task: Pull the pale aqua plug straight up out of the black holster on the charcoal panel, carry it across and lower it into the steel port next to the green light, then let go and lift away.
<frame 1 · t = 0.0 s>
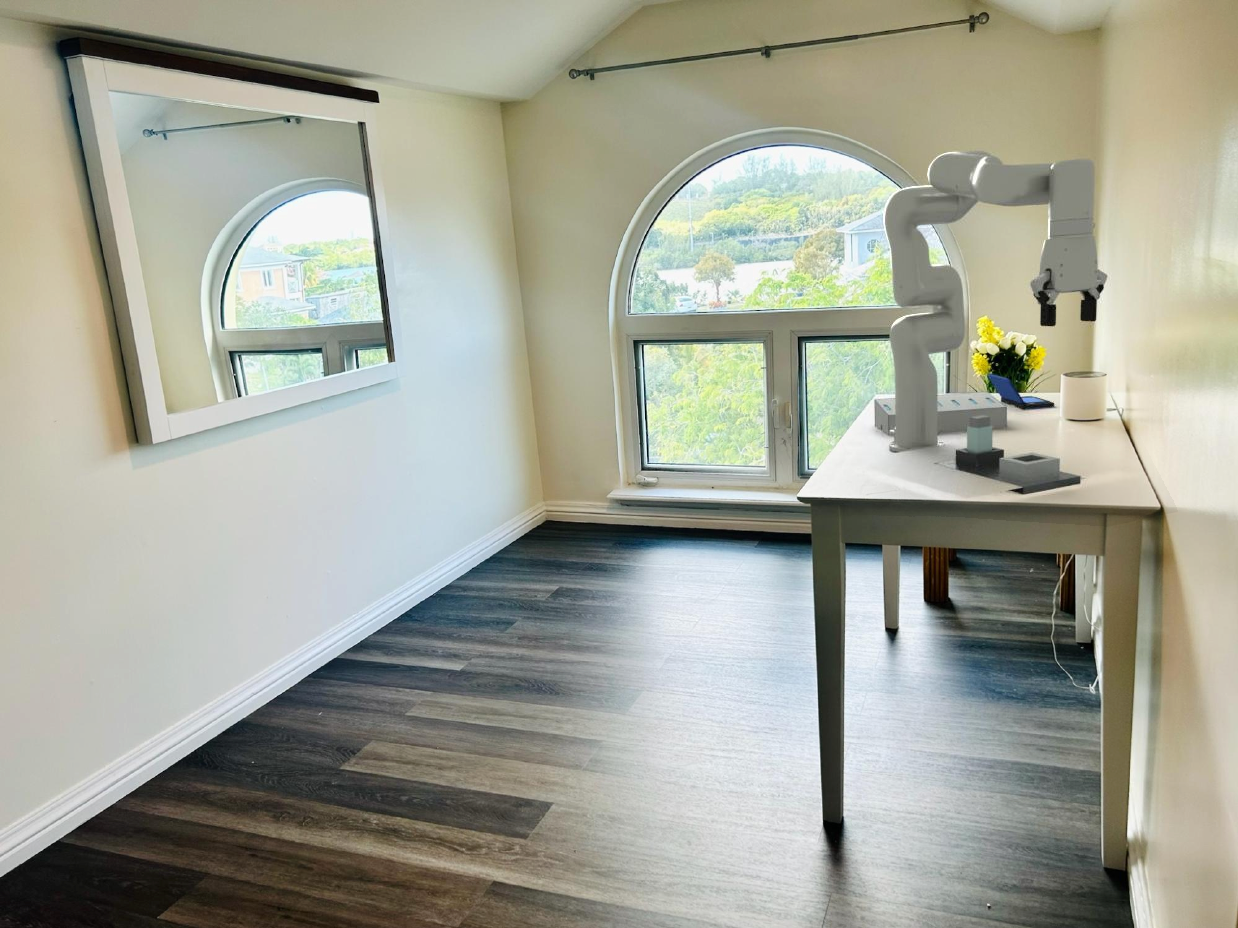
hand: (1068, 323, 180), 31 cm above the table, tool pointing down, fingers open, 9 cm apart
panel: (1003, 476, 196), on the table
plug: (979, 463, 202), point 1 cm above the table, touching panel
grey slotted box: (938, 428, 252), on the table
handheld game console: (1020, 406, 274), on the table
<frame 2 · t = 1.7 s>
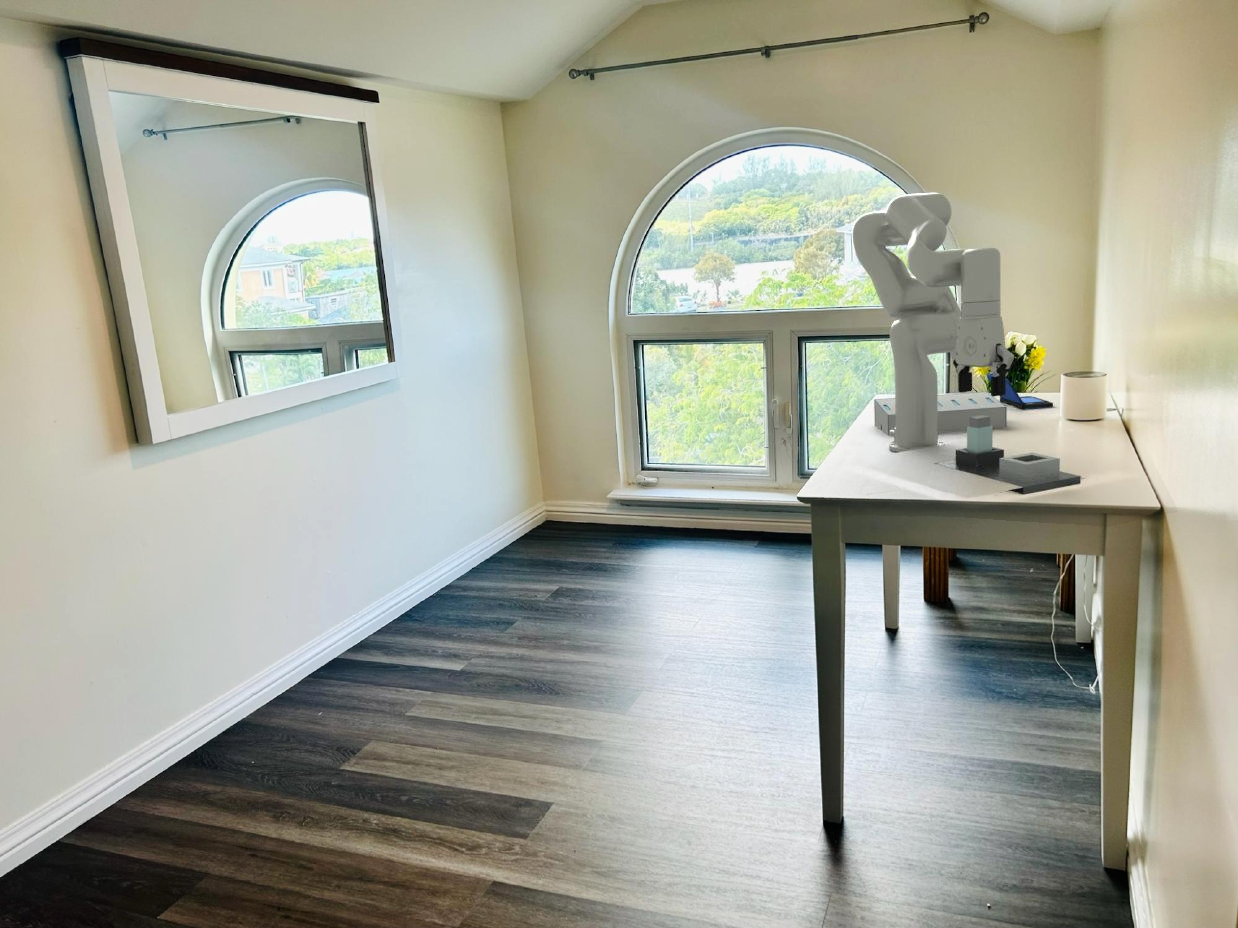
hand: (981, 393, 198), 16 cm above the table, tool pointing down, fingers open, 9 cm apart
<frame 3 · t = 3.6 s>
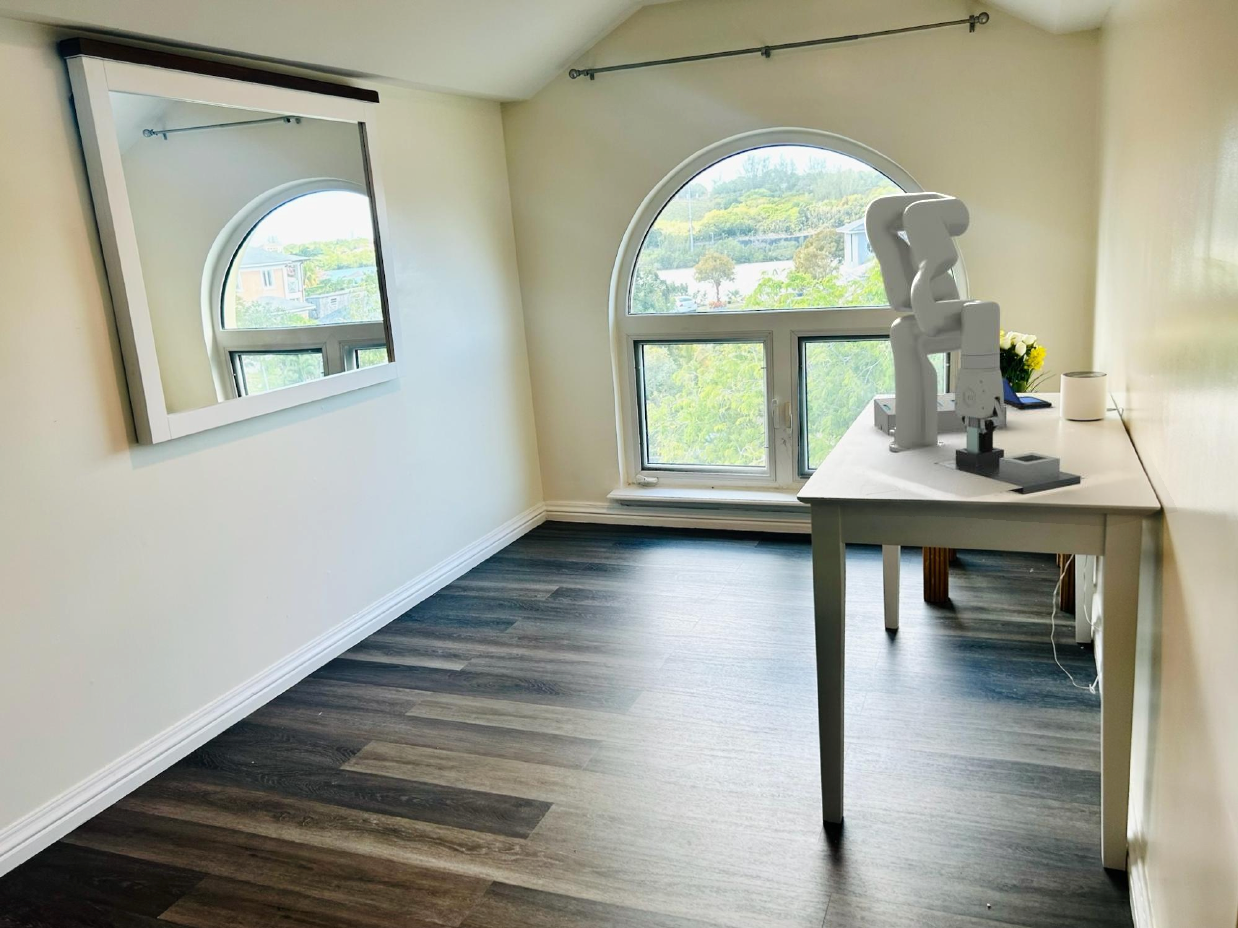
hand: (979, 448, 201), 5 cm above the table, tool pointing down, fingers closed on plug, 2 cm apart
plug: (979, 463, 202), point 2 cm above the table, touching gripper, panel
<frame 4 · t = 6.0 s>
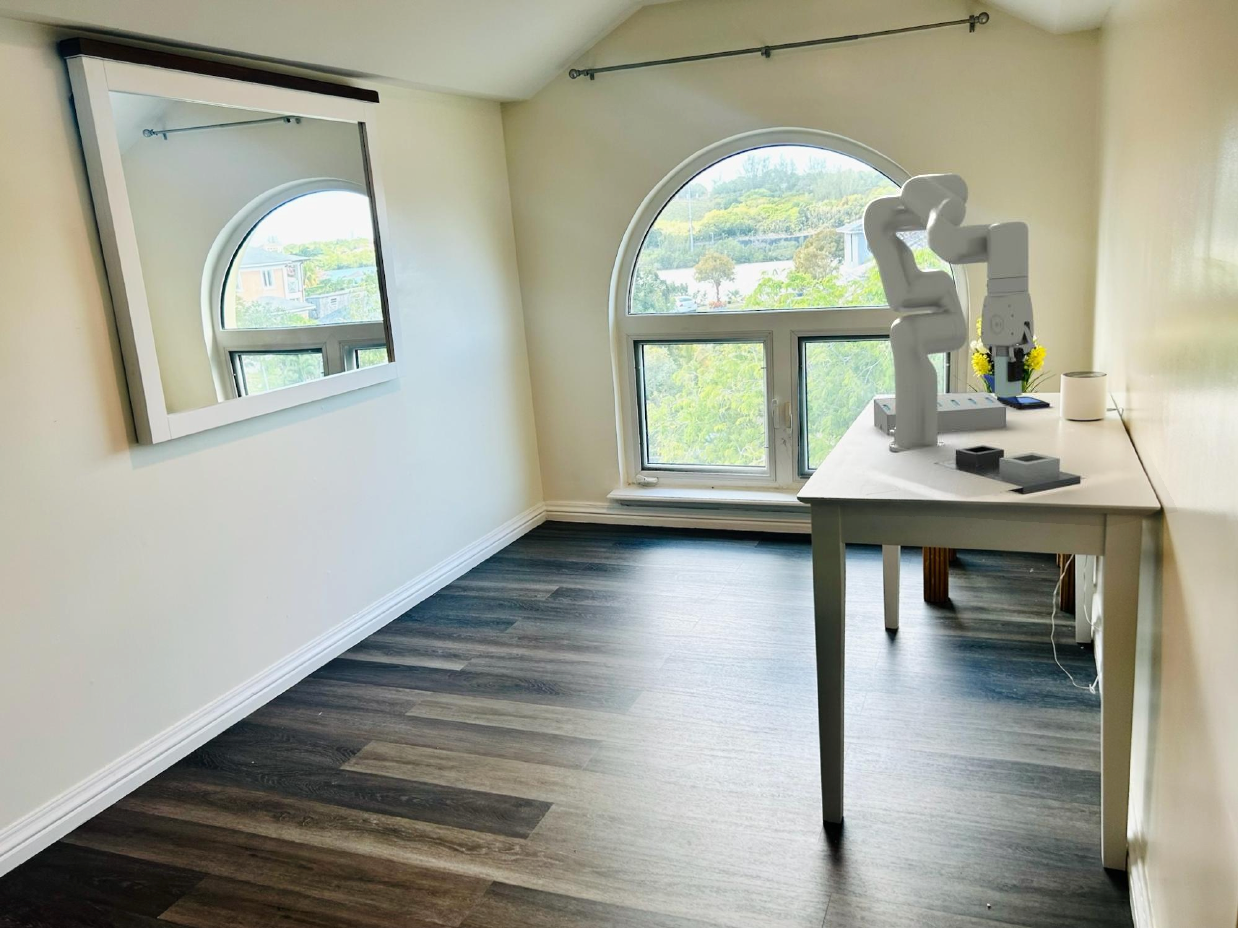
hand: (1008, 380, 191), 20 cm above the table, tool pointing down, fingers closed on plug, 2 cm apart
plug: (1008, 395, 191), point 17 cm above the table, touching gripper
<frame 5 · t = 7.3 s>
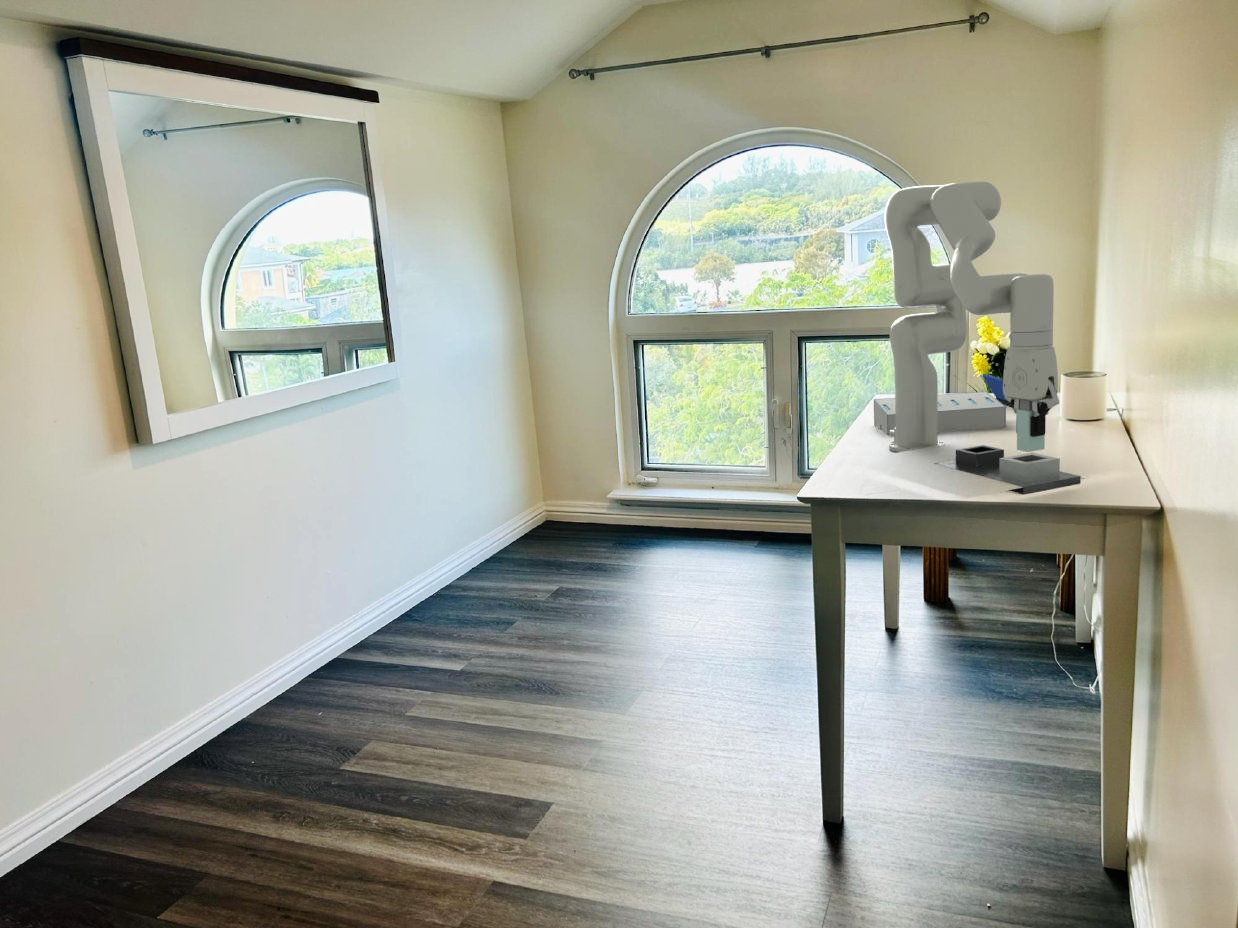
hand: (1030, 433, 187), 10 cm above the table, tool pointing down, fingers closed on plug, 2 cm apart
plug: (1030, 449, 188), point 7 cm above the table, touching gripper
when the fingers open (6 cm above the table, at t = 8.4 s): plug drops 1 cm, resting on panel.
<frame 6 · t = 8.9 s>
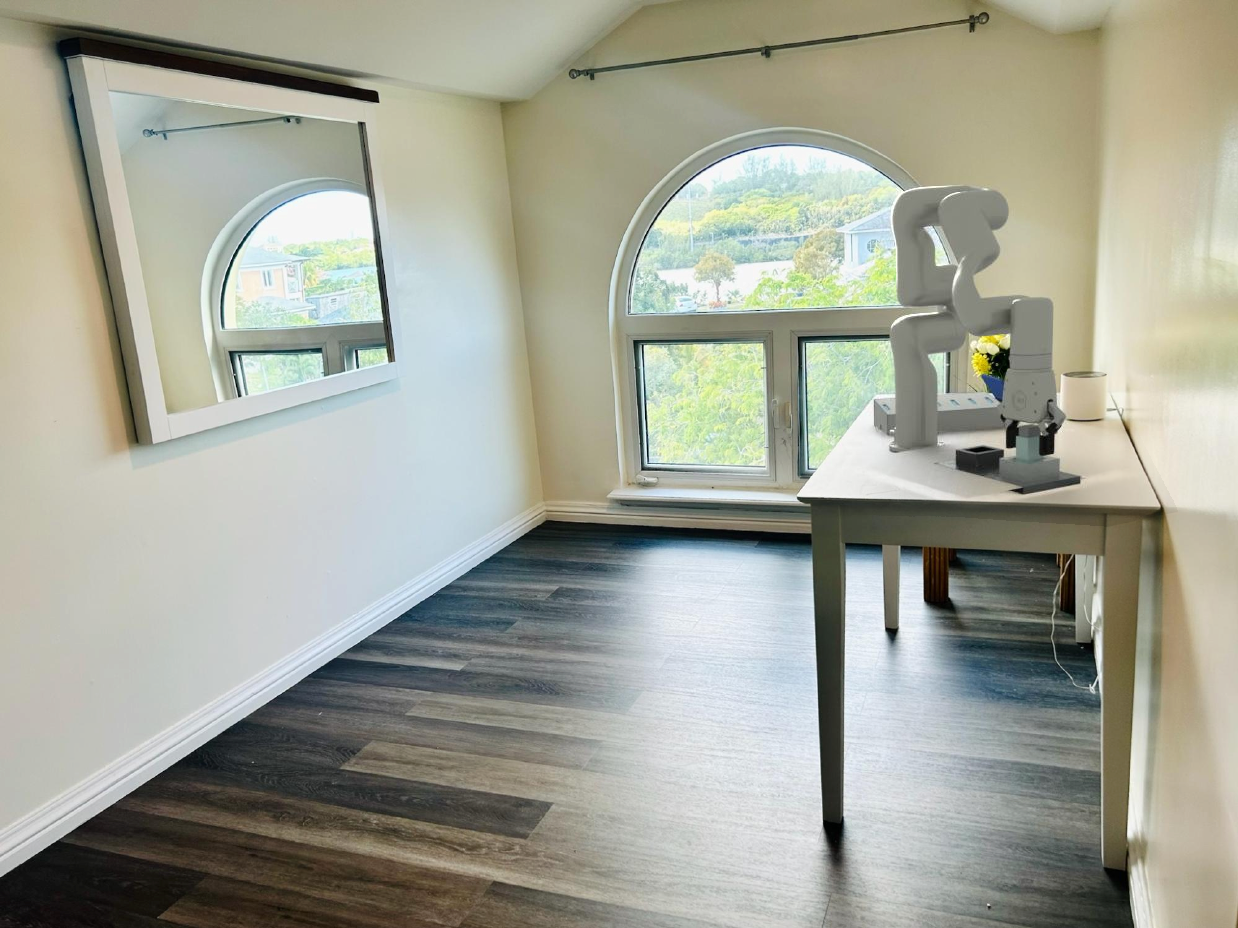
hand: (1029, 450, 188), 7 cm above the table, tool pointing down, fingers open, 8 cm apart
plug: (1029, 475, 189), point 1 cm above the table, touching panel
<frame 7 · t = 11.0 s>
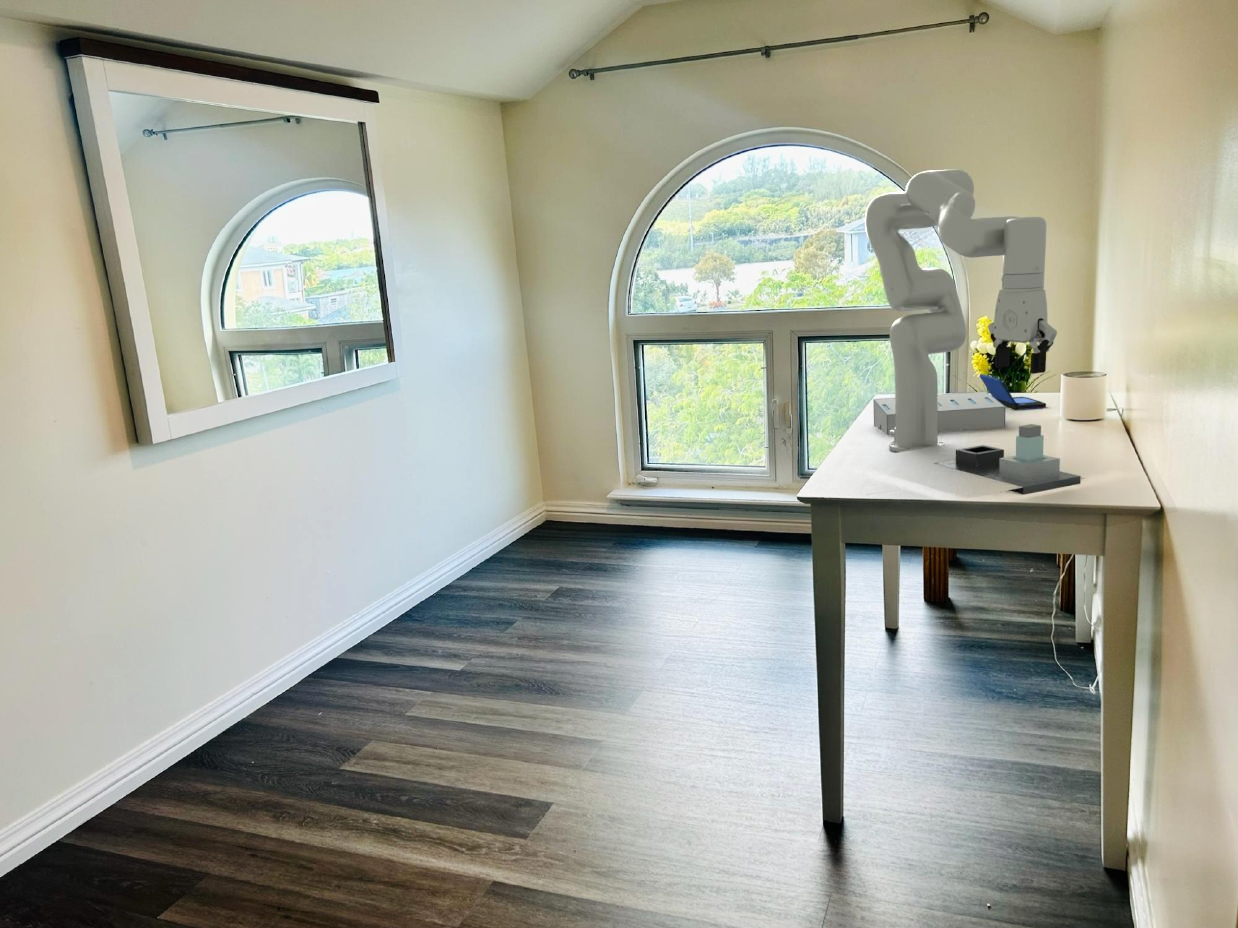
hand: (1019, 369, 190), 22 cm above the table, tool pointing down, fingers open, 9 cm apart
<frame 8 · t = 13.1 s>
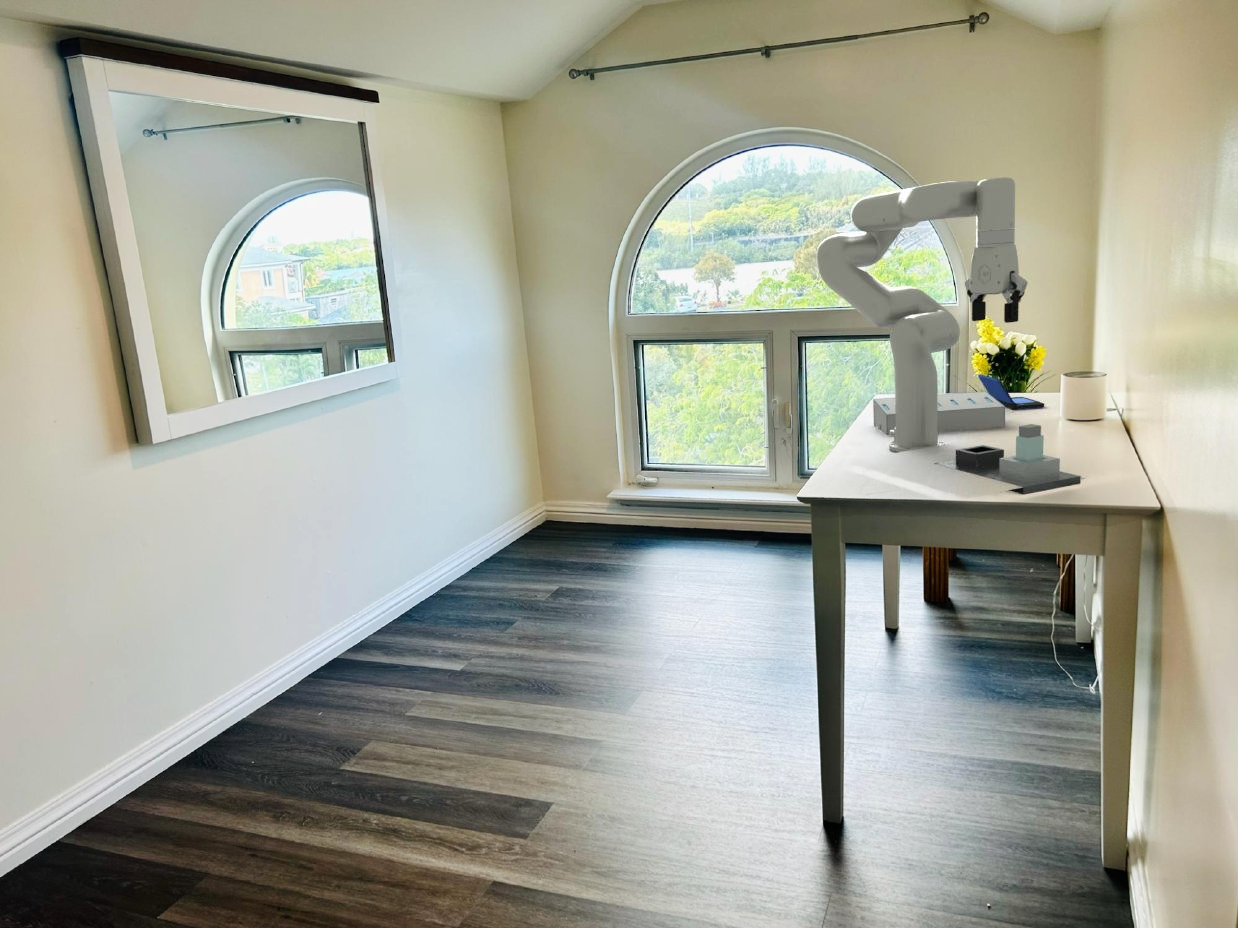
hand: (994, 321, 205), 30 cm above the table, tool pointing down, fingers open, 9 cm apart
at the end: plug 0.0 cm from the target spot on the panel, point 1.5 cm above the panel's base; plug tilted 0°; the gripper is holding nothing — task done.
